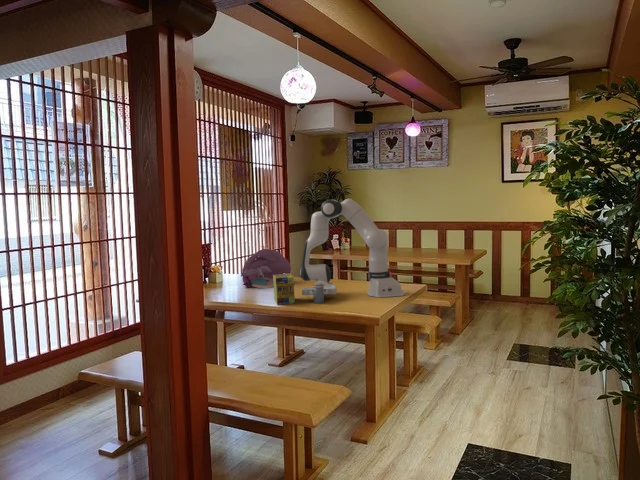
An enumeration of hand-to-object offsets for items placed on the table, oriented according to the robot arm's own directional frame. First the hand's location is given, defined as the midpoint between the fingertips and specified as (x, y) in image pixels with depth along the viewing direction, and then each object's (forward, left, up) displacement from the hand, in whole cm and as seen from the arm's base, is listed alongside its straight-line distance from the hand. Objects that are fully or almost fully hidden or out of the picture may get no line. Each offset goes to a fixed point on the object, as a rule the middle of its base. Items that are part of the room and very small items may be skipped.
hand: (318, 293), depth 283 cm
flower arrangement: (+45, -63, -6) cm, 77 cm away
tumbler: (0, -1, -6) cm, 6 cm away
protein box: (+21, -7, -6) cm, 23 cm away
